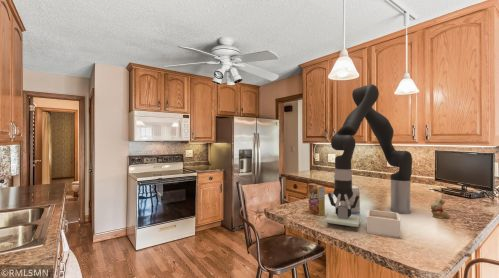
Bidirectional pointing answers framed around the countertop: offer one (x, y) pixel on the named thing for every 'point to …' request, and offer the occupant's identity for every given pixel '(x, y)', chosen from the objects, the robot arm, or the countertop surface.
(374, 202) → the countertop surface
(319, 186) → the candy box
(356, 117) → the robot arm
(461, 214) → the countertop surface
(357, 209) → the supplement tub
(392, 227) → the storage box
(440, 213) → the chocolate bunny
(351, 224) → the lid
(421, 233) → the countertop surface
